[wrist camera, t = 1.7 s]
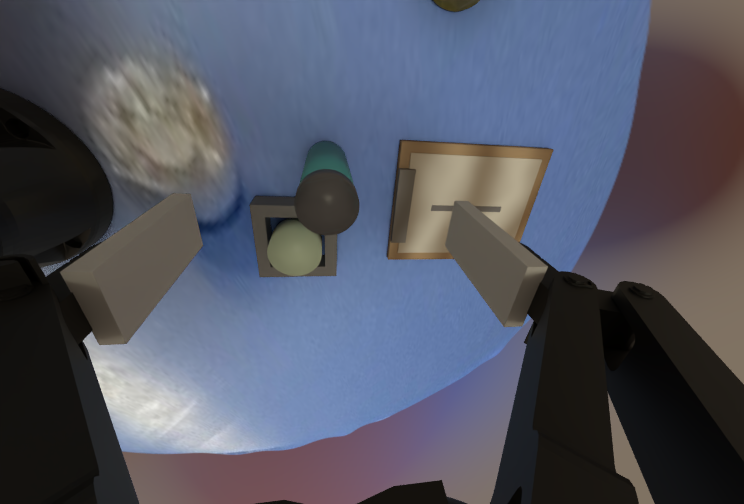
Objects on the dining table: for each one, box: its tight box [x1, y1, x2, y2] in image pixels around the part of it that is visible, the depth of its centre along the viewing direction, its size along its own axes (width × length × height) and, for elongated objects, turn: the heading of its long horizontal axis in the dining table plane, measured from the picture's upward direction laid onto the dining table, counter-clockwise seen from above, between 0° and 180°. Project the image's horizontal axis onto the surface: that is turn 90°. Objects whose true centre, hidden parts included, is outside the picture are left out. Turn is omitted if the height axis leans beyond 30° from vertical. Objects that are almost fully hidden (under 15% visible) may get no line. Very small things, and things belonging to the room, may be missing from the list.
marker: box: [294, 141, 359, 235], centre depth 22 cm, size 4×4×13 cm
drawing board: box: [387, 140, 553, 259], centre depth 32 cm, size 16×13×1 cm
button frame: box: [250, 196, 337, 277], centre depth 30 cm, size 8×8×2 cm
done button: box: [267, 218, 322, 276], centre depth 29 cm, size 5×5×3 cm
